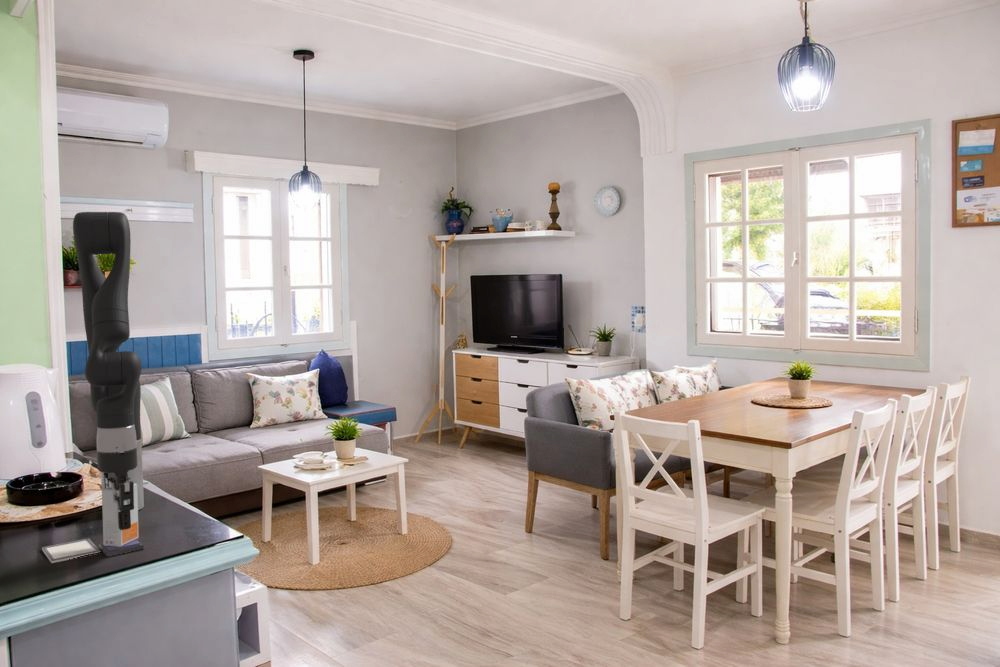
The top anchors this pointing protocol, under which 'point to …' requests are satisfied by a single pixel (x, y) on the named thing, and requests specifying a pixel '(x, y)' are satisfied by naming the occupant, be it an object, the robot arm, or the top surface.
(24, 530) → the top surface
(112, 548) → the ink pad
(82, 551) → the framed whiteboard
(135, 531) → the skincare box
